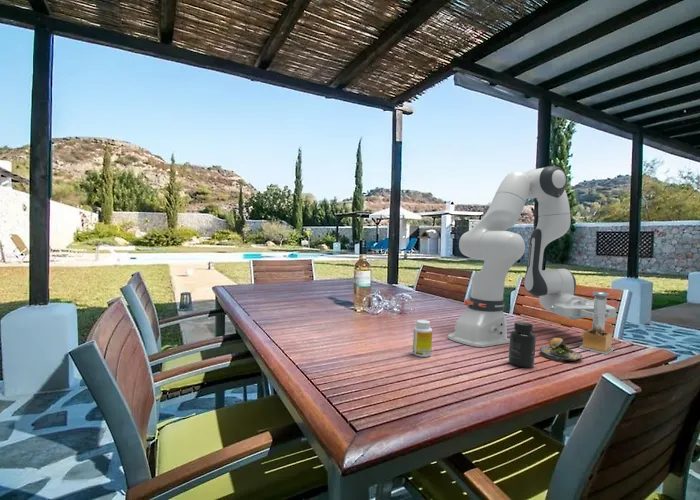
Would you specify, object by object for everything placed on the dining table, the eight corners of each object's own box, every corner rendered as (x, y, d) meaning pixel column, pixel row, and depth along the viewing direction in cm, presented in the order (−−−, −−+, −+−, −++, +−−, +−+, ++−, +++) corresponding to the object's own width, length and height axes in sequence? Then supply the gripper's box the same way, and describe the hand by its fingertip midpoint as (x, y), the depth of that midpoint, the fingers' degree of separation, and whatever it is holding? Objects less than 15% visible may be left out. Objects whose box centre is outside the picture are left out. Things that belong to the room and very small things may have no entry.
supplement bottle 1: (434, 356, 113) (436, 322, 112) (419, 358, 110) (421, 324, 110) (423, 350, 118) (425, 318, 117) (408, 352, 115) (410, 319, 115)
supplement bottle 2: (538, 369, 105) (541, 327, 105) (514, 368, 105) (516, 326, 105) (527, 360, 112) (530, 321, 111) (504, 359, 112) (507, 320, 112)
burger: (566, 366, 109) (568, 341, 109) (530, 354, 120) (532, 331, 119) (590, 361, 115) (592, 337, 114) (554, 349, 125) (555, 327, 125)
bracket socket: (606, 354, 121) (607, 337, 121) (579, 348, 127) (580, 331, 127) (614, 350, 127) (615, 334, 126) (587, 344, 133) (588, 328, 132)
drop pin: (603, 344, 124) (606, 294, 123) (587, 341, 127) (590, 292, 126) (607, 342, 127) (611, 293, 126) (592, 338, 130) (595, 291, 129)
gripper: (547, 298, 138) (573, 306, 124) (598, 299, 140) (629, 307, 126) (546, 315, 139) (571, 324, 125) (597, 316, 141) (628, 325, 127)
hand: (601, 316), depth 126 cm, fingers closed on drop pin, 3 cm apart
